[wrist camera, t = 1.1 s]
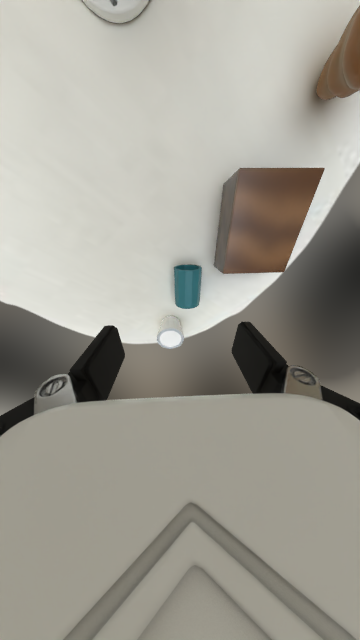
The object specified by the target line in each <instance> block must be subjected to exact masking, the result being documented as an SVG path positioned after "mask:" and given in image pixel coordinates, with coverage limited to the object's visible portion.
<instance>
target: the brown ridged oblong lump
mask: <svg viewBox="0 0 360 640" xmlns="http://www.w3.org/2000/svg"><path fill="white" fill-rule="evenodd" d="M359 90H360V6H359V7H358V9H357V10H356V12H355V13H354V15H353V16H352V18H351V20H350V21H349V23H348V25H347V27H346V29H345V31H344V33H343V35H342V37H341V39H340V41H339V43H338V45H337V46H336V48H335V49H334V51H333V52H332V54H331V55H330V57H329V59H328V60H327V62H326V64H325V66H324V68H323V70H322V73H321V75H320V78H319V81H318V84H317V90H316V91H317V95H318V97H319V98H321V99H323V100H328V99H331V98H334V97H336V96H338V97H340V98H345V97H348V96H350V95H352V94H353V93H355V92H357V91H359Z"/></svg>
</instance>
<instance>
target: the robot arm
mask: <svg viewBox="0 0 360 640" xmlns="http://www.w3.org/2000/svg"><path fill="white" fill-rule="evenodd" d="M83 2H84V3H85V4H86V5H87V6H88V8H90V9H91V10H92V11H93V12H94V13H96V14H97V15H98V16H99V17H101V18H103V19H105V20H107V21H109V22H114V23H124V22H127V21H131V20H132V19H133V18H135V17H136V16H138V15H139V14H140V13H141V12H142V10H143V9H144V8H145V6H146V5H147V4H148V2H149V0H83ZM232 354H233V356H234V358H235V360H236V362H237V364H238V366H239V368H240V370H241V372H242V374H243V376H244V378H245V379H246V381H247V383H248V385H249V387H250V389H251V391H252V393H253V394H230V395H206V396H185V397H184V396H182V397H161V398H141V399H120V400H107V398H108V396H109V393H110V391H111V388H112V386H113V384H114V381H115V379H116V377H117V374H118V372H119V369H120V367H121V364H122V362H123V360H124V357H125V353H124V349H123V346H122V343H121V339H120V336H119V333H118V329H117V328H116V327H114V326H104V328H103V329H102V330H101V331H100V333H99V334H98V335H97V336H96V338H95V339H94V340H93V341H92V343H91V344H90V345H89V346H88V348H87V349H86V350H85V352H84V353H83V354H82V356H80V358H79V359H78V360H77V362H76V363H75V364H74V365H73V367H72V368H71V369H70V372H69V373H68V375H67V374H61V375H56V376H54V377H52V378H50V379H48V380H46V381H45V382H44V383H43V384H41V385H40V386H39V387H38V389H37V390H36V392H35V397H34V398H32V399H30V400H28V401H27V402H25V403H23V404H21V405H19V406H17V407H16V408H14V409H12V410H10V411H8V412H7V413H5V414H3V415H1V416H0V640H360V403H358V402H355V401H353V400H351V399H349V398H347V397H344V396H343V395H340V394H338V393H336V392H334V391H332V390H330V389H328V388H325V387H323V386H321V385H320V381H319V379H318V378H317V376H316V375H314V374H313V373H312V372H311V371H309V370H307V369H305V368H303V367H300V366H296V365H291V366H288V365H287V364H286V363H287V362H286V361H285V359H284V358H283V357H282V356H281V355H280V354H279V353H278V352H277V351H276V350H275V349H274V347H272V345H271V344H270V343H269V342H268V341H267V340H266V339H265V338H264V337H263V336H262V334H261V333H260V332H259V331H258V330H257V329H256V328H255V327H254V326H253V325H252V324H251V323H250V322H241V323H240V324H239V325H238V328H237V332H236V336H235V339H234V343H233V347H232ZM104 400H105V401H104Z"/></svg>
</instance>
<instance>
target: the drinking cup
mask: <svg viewBox="0 0 360 640" xmlns="http://www.w3.org/2000/svg"><path fill="white" fill-rule="evenodd" d="M201 271H202V268H201V266H197V265H178V266H175V267H174V277H175V304H176V306H178V307H180V308H184V309H190V308H195V307H197V306H198V305H199V300H200V285H201V273H202V272H201Z"/></svg>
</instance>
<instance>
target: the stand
mask: <svg viewBox="0 0 360 640" xmlns="http://www.w3.org/2000/svg"><path fill="white" fill-rule="evenodd" d="M324 169H325V168H240V169H239V170H238V171H237V172H236V173H235V174H234V175H233V176H232V177H230V178H229V179H228V180H227V181H226V182H225V183H224V186H223V194H222V203H221V211H220V220H219V228H218V237H217V245H216V254H215V262H214V266H215V267H216V268H217V269H218V270H220V271H221V272H222V273H223V274H230V273H268V272H284V271H285V268H286V266H287V263H288V261H289V258H290V255H291V253H292V250H293V248H294V245H295V243H296V240H297V238H298V235H299V233H300V230H301V227H302V225H303V222H304V220H305V217H306V215H307V212H308V210H309V207H310V205H311V202H312V200H313V197H314V194H315V192H316V189H317V187H318V184H319V182H320V179H321V177H322V174H323V172H324Z"/></svg>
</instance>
